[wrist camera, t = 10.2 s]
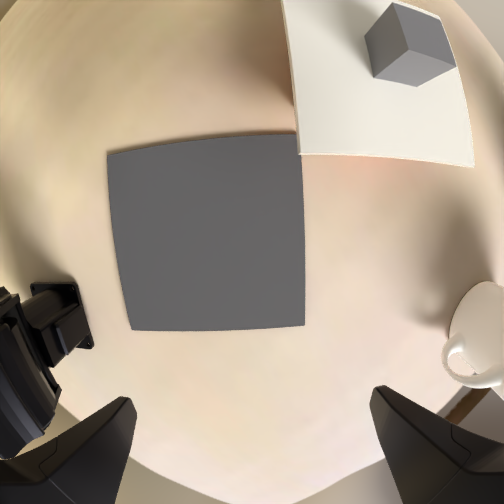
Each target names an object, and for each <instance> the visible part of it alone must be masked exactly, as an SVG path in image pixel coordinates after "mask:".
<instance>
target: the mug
mask: <svg viewBox="0 0 504 504" xmlns="http://www.w3.org/2000/svg"><path fill="white" fill-rule="evenodd" d="M452 353H456V354H457V355H458V356H459V357H460V358H461V359H462V360H463V361H464V362H465V363H467V364H468V365H469V366H470V367H471V368H472V369H473V370H474V371H475V372H476V373H477V375H473V376H463V375H459V374H457V373H455V372H453V371H452V370H451V369H450V368H449V366H448V357H449V356H450V355H451V354H452ZM441 361H442V364H443V366H444V368H445V370H446V371H447V373H448V374H449V375H450V376H451V377H452V378H453V379H454V380H456V381H457V382H458V383H460V384H462V385H465V386H468V387H472V388H488V387H491V388H492V389H493V390H494V391H495V392H496V393H497V394H498V395H499V396H500V397H501V398H502V399H503V400H504V287H502V286H500V285H498V284H496V283H493V282H489V281H485V282H481V283H478V284H477V285H475V286H474V287H473V288H471V289H470V290H469V291H468V292H467V293H466V295H465V296H464V297H463V299H462V300H461V302H460V303H459V305H458V307H457V309H456V311H455V313H454V316H453V318H452V321H451V326H450V331H449V340H448V341H447V342H446V343H445V345H444V347H443V349H442V352H441Z"/></svg>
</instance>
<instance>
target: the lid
mask: <svg viewBox="0 0 504 504" xmlns="http://www.w3.org/2000/svg"><path fill="white" fill-rule="evenodd" d="M280 1H281V7H282V14H283V20H284V27H285V33H286V41H287V48H288V56H289V64H290V72H291V81H292V90H293V100H294V111H295V122H296V134H297V148H298V155H350V156H371V157H386V158H398V159H409V160H418V161H427V162H435V163H442V164H449V165H456V166H462V167H475V163H474V151H473V142H472V134H471V127H470V120H469V114H468V109H467V104H466V99H465V94H464V90H463V86H462V82H461V78H460V74H459V70H458V67H457V64H456V60H455V57H454V54H453V51H452V48H451V45H450V42H449V39H448V37H447V34H446V31H445V29H444V26H443V24H442V22H441V19H440V17H439V16H437V15H435V14H433V13H430V12H428V11H425V10H423V9H420V8H418V7H415V6H412V5H410V4H407V3H404V2H401V1H398V0H280Z"/></svg>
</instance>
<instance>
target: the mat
mask: <svg viewBox="0 0 504 504" xmlns="http://www.w3.org/2000/svg"><path fill="white" fill-rule="evenodd" d="M107 164H108V185H109V199H110V210H111V220H112V228H113V236H114V243H115V250H116V257H117V263H118V269H119V274H120V280H121V285H122V290H123V295H124V299H125V304H126V308H127V313H128V317H129V321H130V325H131V329H132V330H140V331H225V330H249V329H266V328H280V327H293V326H304V325H305V230H304V201H303V180H302V163H301V155H298V148H297V134H277V135H252V136H236V137H224V138H213V139H203V140H194V141H186V142H179V143H172V144H165V145H159V146H153V147H147V148H142V149H136V150H131V151H126V152H121V153H117V154H112V155H108V156H107Z"/></svg>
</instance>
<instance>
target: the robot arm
mask: <svg viewBox="0 0 504 504" xmlns="http://www.w3.org/2000/svg"><path fill="white" fill-rule="evenodd" d="M34 287H35V288H34ZM72 287H73V288H74V290H73V288H72ZM30 289H31V292H32V296H33V297H31V298H29V299H28V300H26V301H24V302H23V303H20V297H19V294H18V293H17V294H10V292H8V291H7V290H6V289H5V287H4V286H3V287H0V458H1V459H7V460H0V504H115V500H116V496H117V493H118V489H119V486H120V482H121V479H122V476H123V472H124V469H125V466H126V463H127V459H128V456H129V453H130V449H131V445H132V440H133V435H134V430H135V425H136V420H137V412H136V410H135V407H134V405H133V403H132V400H131V399H130V398H129V397H123V396H120V397H118V398H117V399H115V400H114V401H112V402H111V403H109V404H107V405H106V406H104V407H103V408H101V409H100V410H98V411H97V412H95V413H94V414H92V415H91V416H89V417H87V418H86V419H84V420H83V421H81V422H80V423H78V424H76V425H75V426H73V427H72V428H70V429H69V430H67V431H65V432H63V433H62V434H60V435H59V436H58V437H55V438H53V439H52V440H50V441H48V442H47V443H45V444H43V445H41V446H39V447H37V448H35V449H33V450H31V451H28V452H26V453H24V454H21V455H19V456H17V457H15V456H16V455H17V454H18V453H19V452H20V450H21V449H22V448H23V447H25V446H26V445H27V444H28V443H29V442H31V441H32V440H34V439H36V438H38V437H40V436H43V435H44V434H45V432H44V430H45V429H46V428H47V427H48V426H49V424H50V423H51V421H52V419H53V417H54V415H55V408H56V405H57V402H58V400H59V397H60V394H61V391H62V389H61V387H60V386H59V384H57V382H56V381H55V379H54V377H53V375H52V373H51V371H50V370H49V368H50V367H52V368H54V367H55V366H56V365H57V364H58V363H59V362H60V361H61V360H62V359H63V358H64V357H65V356H66V355H69V353H70V352H71V351H72V350H73V349H74V348H75V347H76V348H83V349H92V348H93V347H94V342H93V339H92V336H91V333H90V329H89V326H88V323H87V319H86V316H85V312H84V308H83V305H82V301H81V297H80V293H79V288H78V285H77V284H76V283H75V282H34V283H32V284H31V285H30ZM88 343H89V344H90V345H89V344H88ZM370 410H371V413H372V417H373V421H374V425H375V428H376V432H377V436H378V439H379V442H380V445H381V447H382V450H383V452H384V455H385V457H386V460H387V462H388V465H389V467H390V470H391V472H392V475H393V478H394V480H395V483H396V486H397V488H398V491H399V494H400V496H401V499H402V502H403V504H504V443H500V442H497V441H494V440H491V439H488V438H485V437H482V436H480V435H477V434H475V433H472V432H470V431H467V430H465V429H463V428H461V427H459V426H457V425H455V424H453V423H451V422H449V421H448V420H446V419H444V418H442V417H440V416H438V415H436V414H435V413H433V412H431V411H429V410H427V409H426V408H424V407H422V406H420V405H418V404H417V403H415V402H413V401H411V400H410V399H408V398H406V397H404V396H403V395H401V394H399V393H397V392H396V391H394V390H392V389H391V388H389V387H387V386H385V385H382V386H377V387H375V388H374V389H373V392H372V396H371V400H370ZM10 458H11V459H10Z"/></svg>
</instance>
